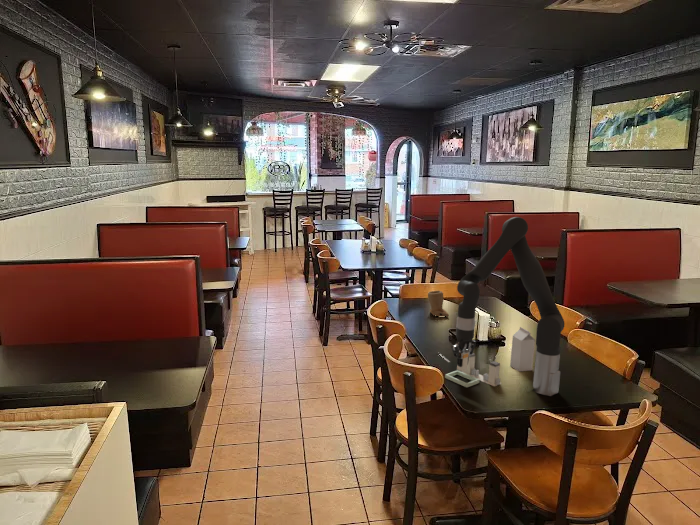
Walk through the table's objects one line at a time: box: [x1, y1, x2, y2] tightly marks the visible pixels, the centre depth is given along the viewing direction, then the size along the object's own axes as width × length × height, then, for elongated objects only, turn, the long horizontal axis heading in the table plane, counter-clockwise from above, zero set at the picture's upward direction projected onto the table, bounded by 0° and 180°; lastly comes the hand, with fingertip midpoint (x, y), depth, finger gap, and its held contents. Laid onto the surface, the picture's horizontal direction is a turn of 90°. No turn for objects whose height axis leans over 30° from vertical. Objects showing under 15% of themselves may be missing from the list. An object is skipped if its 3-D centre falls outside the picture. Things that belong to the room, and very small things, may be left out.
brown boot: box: [427, 290, 450, 318], centre depth 318 cm, size 15×12×15 cm
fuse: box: [456, 350, 468, 372], centre depth 218 cm, size 3×3×9 cm
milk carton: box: [509, 326, 536, 372], centre depth 236 cm, size 7×7×19 cm
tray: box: [444, 369, 480, 388], centre depth 220 cm, size 12×8×3 cm, turn 38°
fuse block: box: [463, 352, 503, 387], centre depth 222 cm, size 18×5×10 cm, turn 38°
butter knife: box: [438, 353, 451, 363], centre depth 243 cm, size 1×27×3 cm
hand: (462, 365), depth 219 cm, fingers closed on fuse, 3 cm apart
